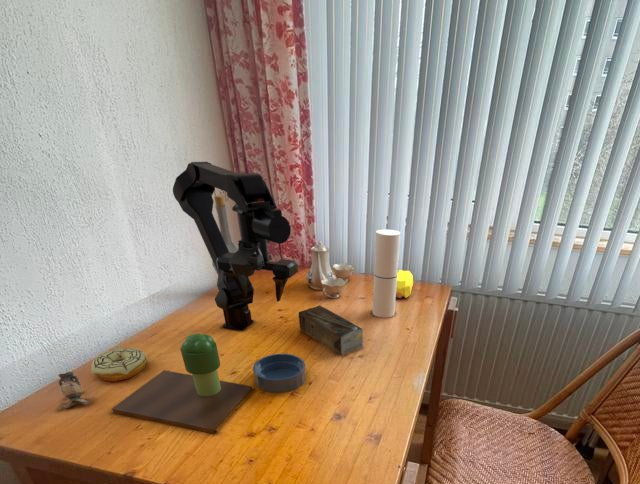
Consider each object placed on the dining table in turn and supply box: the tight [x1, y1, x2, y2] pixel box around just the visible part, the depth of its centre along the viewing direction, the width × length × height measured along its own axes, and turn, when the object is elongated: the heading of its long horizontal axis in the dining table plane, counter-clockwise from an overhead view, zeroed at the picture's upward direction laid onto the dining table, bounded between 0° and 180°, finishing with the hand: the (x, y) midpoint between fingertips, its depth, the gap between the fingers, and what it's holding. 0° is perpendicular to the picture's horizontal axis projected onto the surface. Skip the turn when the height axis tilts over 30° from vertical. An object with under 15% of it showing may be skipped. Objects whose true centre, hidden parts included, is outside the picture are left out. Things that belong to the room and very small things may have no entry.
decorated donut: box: [90, 347, 148, 383], centre depth 87 cm, size 10×11×4 cm
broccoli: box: [180, 333, 221, 396], centre depth 79 cm, size 7×7×13 cm
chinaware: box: [305, 240, 355, 299], centre depth 137 cm, size 28×17×17 cm, turn 179°
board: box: [111, 369, 254, 435], centre depth 80 cm, size 22×15×1 cm
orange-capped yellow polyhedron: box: [396, 269, 414, 299], centre depth 139 cm, size 18×7×8 cm
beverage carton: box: [298, 305, 364, 355], centre depth 105 cm, size 8×19×7 cm, turn 45°
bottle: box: [211, 195, 239, 275], centre depth 123 cm, size 11×11×30 cm
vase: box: [58, 371, 90, 411], centre depth 77 cm, size 5×5×6 cm
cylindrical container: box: [371, 228, 402, 319], centre depth 117 cm, size 7×7×25 cm
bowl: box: [252, 353, 307, 394], centre depth 88 cm, size 11×11×4 cm
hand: (261, 298), depth 98 cm, fingers open, 9 cm apart
